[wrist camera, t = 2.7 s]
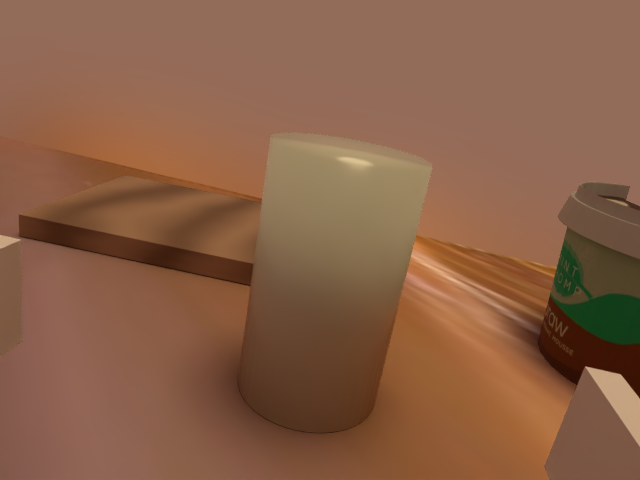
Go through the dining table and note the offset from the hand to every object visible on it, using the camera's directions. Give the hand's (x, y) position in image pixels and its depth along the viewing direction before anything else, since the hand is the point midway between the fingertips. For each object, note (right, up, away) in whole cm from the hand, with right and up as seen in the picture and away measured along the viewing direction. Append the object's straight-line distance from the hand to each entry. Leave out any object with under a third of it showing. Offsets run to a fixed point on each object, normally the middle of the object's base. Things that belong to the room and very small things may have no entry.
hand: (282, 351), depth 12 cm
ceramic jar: (0, -4, +12) cm, 12 cm away
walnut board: (-7, +3, +27) cm, 29 cm away
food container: (+16, -5, +18) cm, 25 cm away
